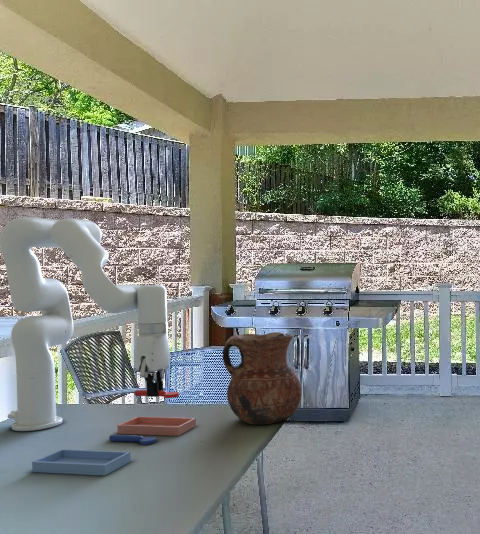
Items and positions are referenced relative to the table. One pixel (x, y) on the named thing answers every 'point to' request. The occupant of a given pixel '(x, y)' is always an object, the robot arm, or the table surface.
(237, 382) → the jug
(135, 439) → the navy spoon
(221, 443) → the table surface
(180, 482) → the table surface
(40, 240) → the robot arm
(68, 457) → the blue tray
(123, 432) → the rose tray
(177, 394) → the red spoon
